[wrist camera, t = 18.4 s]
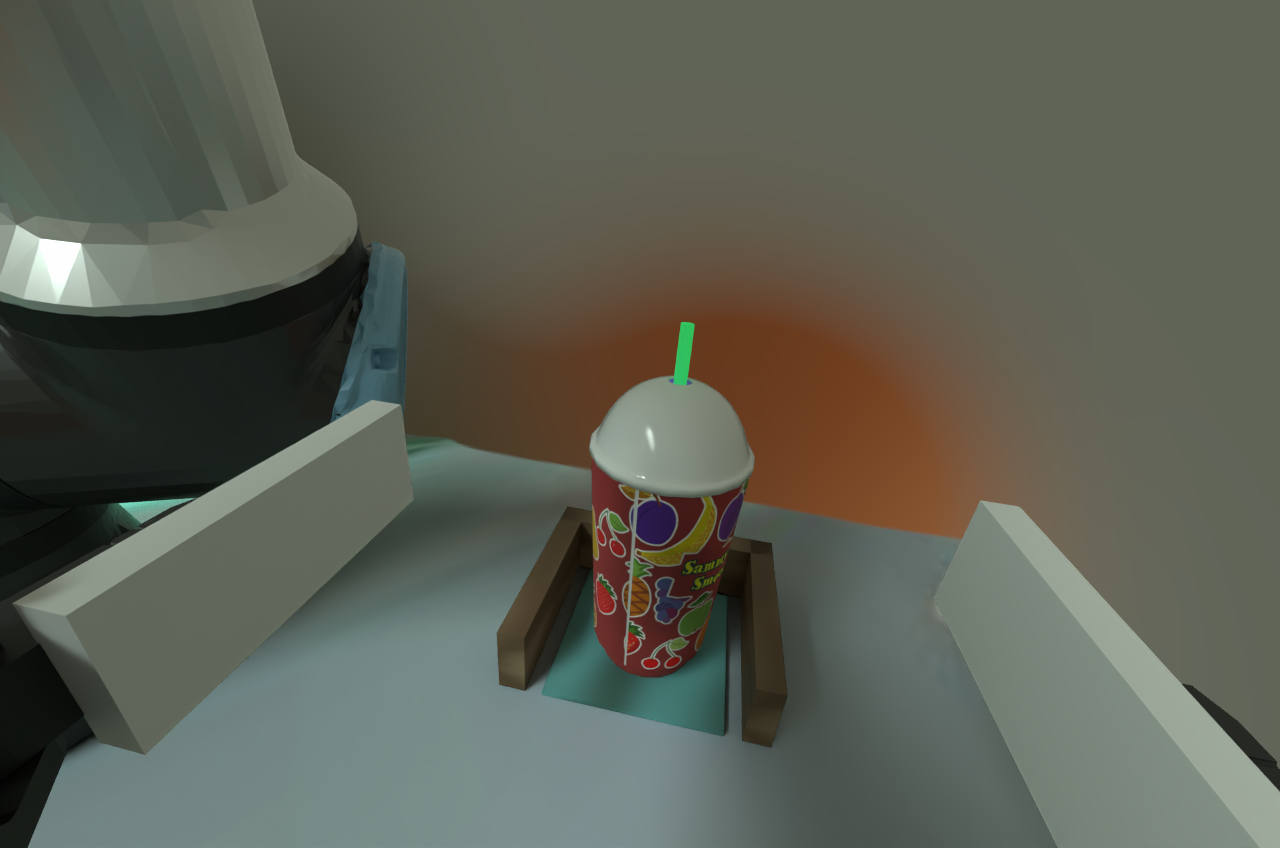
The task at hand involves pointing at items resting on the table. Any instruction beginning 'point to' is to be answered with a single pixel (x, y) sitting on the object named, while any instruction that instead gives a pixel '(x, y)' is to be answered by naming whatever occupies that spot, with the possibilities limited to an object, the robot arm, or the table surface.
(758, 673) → the holder
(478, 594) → the table surface
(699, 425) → the smoothie
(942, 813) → the table surface
